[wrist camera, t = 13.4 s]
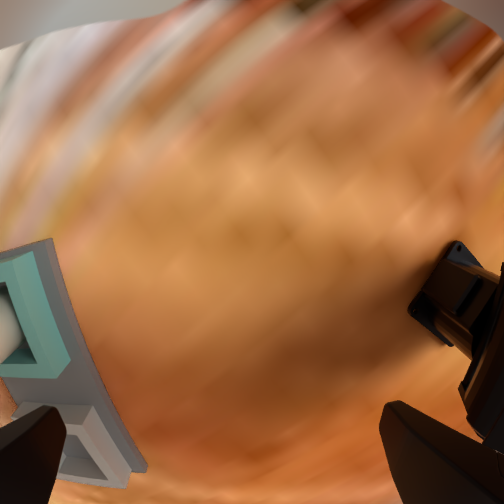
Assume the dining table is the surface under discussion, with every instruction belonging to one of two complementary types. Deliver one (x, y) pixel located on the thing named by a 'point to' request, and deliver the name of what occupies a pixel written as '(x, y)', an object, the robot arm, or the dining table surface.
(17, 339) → the peg
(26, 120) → the dining table surface
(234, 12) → the dining table surface
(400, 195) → the dining table surface
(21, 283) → the socket board
